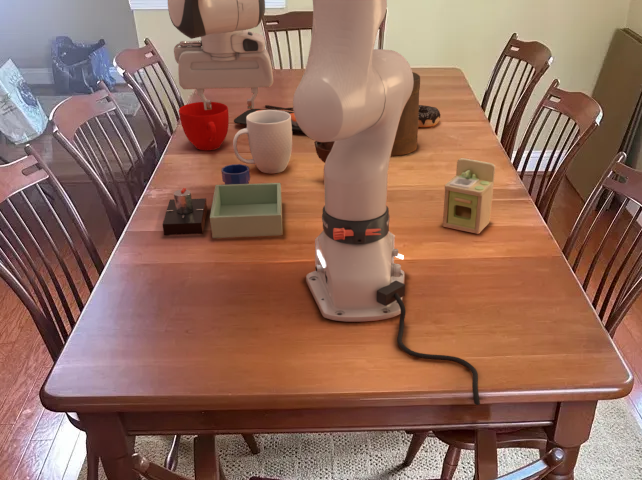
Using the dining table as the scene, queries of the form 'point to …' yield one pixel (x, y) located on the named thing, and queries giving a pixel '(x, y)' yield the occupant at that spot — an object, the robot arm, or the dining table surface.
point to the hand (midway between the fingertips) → (229, 108)
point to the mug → (267, 140)
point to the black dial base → (185, 219)
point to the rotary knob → (183, 201)
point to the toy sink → (469, 196)
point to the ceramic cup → (205, 124)
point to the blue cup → (235, 174)
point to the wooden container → (408, 123)
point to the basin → (246, 210)
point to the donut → (428, 116)
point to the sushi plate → (242, 118)
